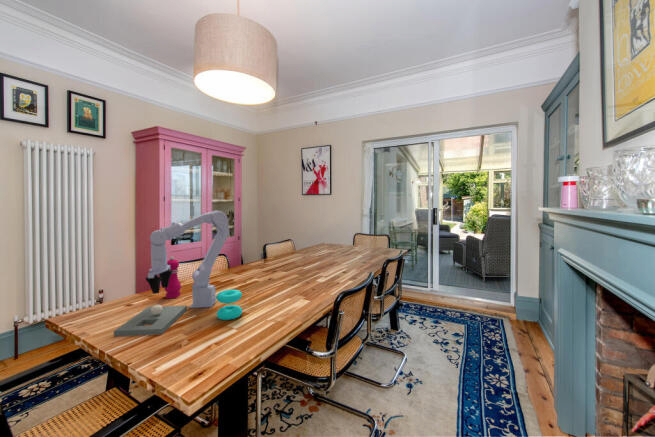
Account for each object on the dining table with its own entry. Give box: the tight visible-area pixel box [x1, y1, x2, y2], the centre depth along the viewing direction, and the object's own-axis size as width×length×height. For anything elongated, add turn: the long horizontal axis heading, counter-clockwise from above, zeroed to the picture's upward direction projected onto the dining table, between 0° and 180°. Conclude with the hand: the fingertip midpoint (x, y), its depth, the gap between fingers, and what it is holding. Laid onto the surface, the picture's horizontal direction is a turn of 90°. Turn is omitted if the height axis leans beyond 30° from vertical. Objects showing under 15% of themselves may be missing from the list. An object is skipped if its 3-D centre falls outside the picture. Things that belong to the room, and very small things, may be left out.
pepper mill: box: [164, 256, 182, 299], centre depth 137 cm, size 7×7×20 cm
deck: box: [113, 305, 188, 337], centre depth 108 cm, size 16×22×2 cm
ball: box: [151, 304, 163, 315], centre depth 110 cm, size 4×4×4 cm
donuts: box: [216, 288, 243, 321], centre depth 114 cm, size 10×10×10 cm
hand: (160, 290), depth 118 cm, fingers open, 7 cm apart
